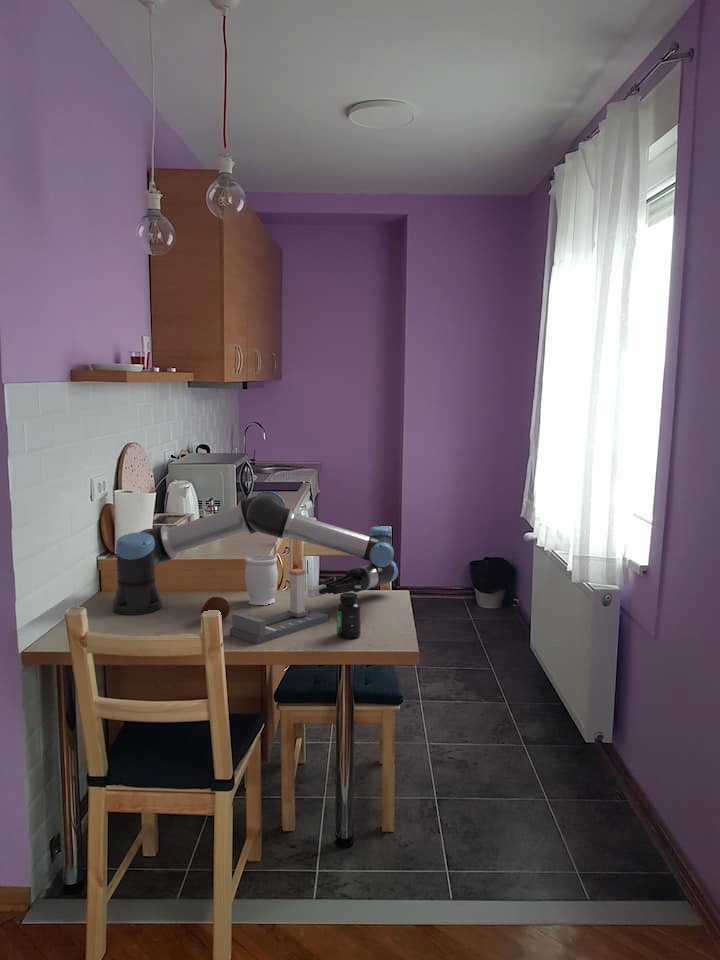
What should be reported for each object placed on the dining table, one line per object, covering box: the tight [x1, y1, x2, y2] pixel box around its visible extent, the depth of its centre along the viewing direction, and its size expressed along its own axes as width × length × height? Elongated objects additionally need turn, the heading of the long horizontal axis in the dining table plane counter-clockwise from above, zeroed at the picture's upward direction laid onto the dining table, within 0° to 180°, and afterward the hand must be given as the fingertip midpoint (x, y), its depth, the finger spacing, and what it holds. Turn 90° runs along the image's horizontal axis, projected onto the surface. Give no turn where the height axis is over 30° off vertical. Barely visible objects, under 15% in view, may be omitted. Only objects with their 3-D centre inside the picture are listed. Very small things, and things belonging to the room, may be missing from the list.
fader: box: [286, 568, 308, 618], centre depth 234 cm, size 4×5×14 cm
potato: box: [200, 596, 231, 621], centre depth 235 cm, size 8×12×8 cm, turn 166°
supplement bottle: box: [336, 592, 362, 640], centre depth 222 cm, size 7×7×12 cm
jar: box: [244, 554, 279, 606], centre depth 255 cm, size 11×10×15 cm
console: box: [229, 608, 329, 645], centre depth 229 cm, size 28×12×6 cm, turn 138°
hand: (309, 593), depth 238 cm, fingers closed
